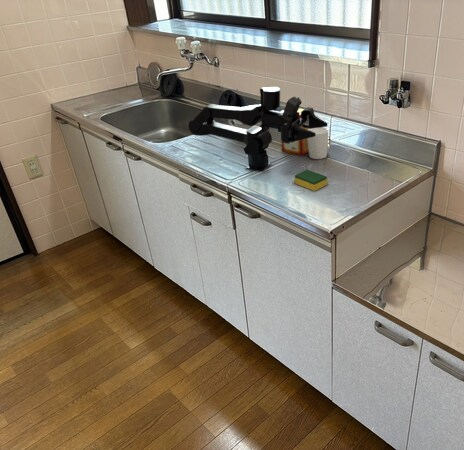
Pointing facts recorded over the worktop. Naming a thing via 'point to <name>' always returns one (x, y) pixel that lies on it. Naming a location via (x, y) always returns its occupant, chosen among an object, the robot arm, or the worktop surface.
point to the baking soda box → (296, 143)
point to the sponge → (311, 180)
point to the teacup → (240, 125)
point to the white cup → (318, 143)
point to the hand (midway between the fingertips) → (321, 129)
